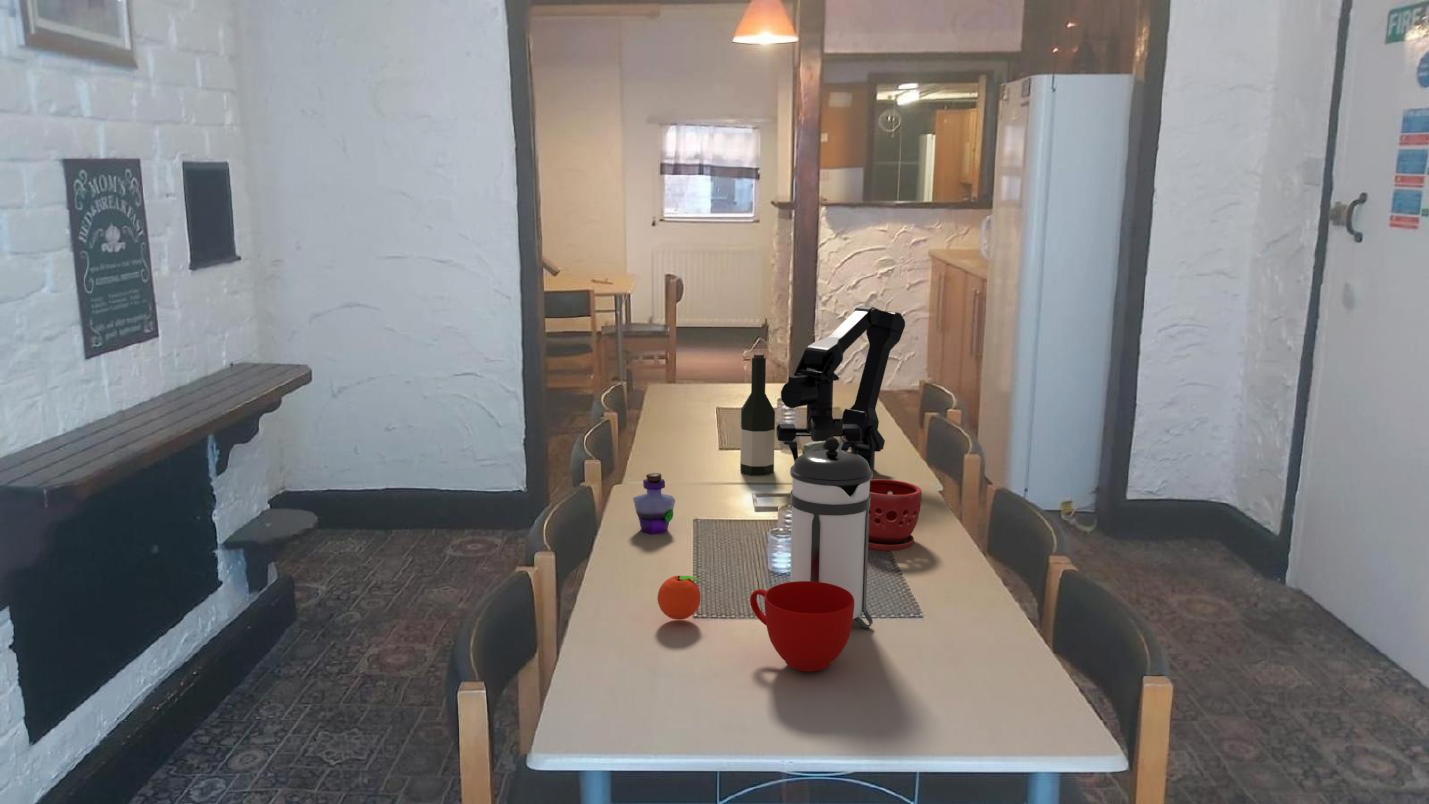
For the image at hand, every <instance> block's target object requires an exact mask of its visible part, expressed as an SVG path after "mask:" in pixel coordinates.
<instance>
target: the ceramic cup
mask: <svg viewBox="0 0 1429 804" xmlns="http://www.w3.org/2000/svg"><path fill="white" fill-rule="evenodd" d="M758 595H760V596H762V597H763V598H764V612H762V610H761V608H760V606H759V604H758V600H757V599H758ZM749 598H750V599H749V603H750V606H751V609H752V610H751V611H752V612H753V614H754V615H755V617H756V618H757V619H758V621H760V622H761V623H763V624H764V625H765V627H766V630H767V633H768V637H769V641H770V642H771V644H772V646H773V648H774V649H775V652H776V653H777V654H778V655H779V656H780V658H781V659H782V660H783V661H784V662H785V664H786V665H787V666H788V667H790V668H791V669H795V670H798V671H803V672H817V671H821V670H825V669H827V668H828V667H830V665H831V664H832V663H833V662H834V661H835V660H836V659H837V658H838V657H839V656H840V655H841V653H842V652H843V650H844V649H845V647H846V645H847V643H848V641H849V638H850V634H851V630H852V625H853V621H854V620H853V613H854V598H853V596H852V594H851V593H850V592H848V591H847V590H845V589H843V588H841V587H839V586H836V585H832V584H828V583H822V582H814V581H796V582H790V581H788V582H784V583H779V584H777V585H776V584H775V585H774V586H772V587H770V588H769V589H768V590H765V589H763V588H758V589H755V590H754V591H753V592H752V593H751V594H750V597H749Z"/></svg>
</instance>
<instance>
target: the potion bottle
mask: <svg viewBox="0 0 1429 804" xmlns="http://www.w3.org/2000/svg"><path fill="white" fill-rule="evenodd" d="M645 477H646V478H645V479H643V481H642V483H643V484H642V487H643V489H646V493H641V494H640V495H637V496H633V497H632V500H633V501H632V502H633V503H634V504H633V505H634V508H635V513H636V515H637V517H638V521H639V526H640V530H641V532H642V534H643V533H644V534H649V535H658V534H663V533H666V532H667V531H668V528H669V525H670V522H671V521H672V520H673V517H674V508H675V504H676V498H674V496H673V495H671V494H666V493H665V494H664V493H662V490H663V489H665V488H666V482H665V480H664V478H662V474H661V473H659V472H651V473H648V474H646V475H645Z"/></svg>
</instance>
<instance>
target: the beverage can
mask: <svg viewBox="0 0 1429 804" xmlns="http://www.w3.org/2000/svg"><path fill="white" fill-rule="evenodd" d="M825 442H826V441H818V442H815V441H813V440H811V441H808V442H805V443H804V444H803V448H802V450H801V451H802V452H801V453H802V454H804V453H807V452H810V451H814V450H824V449H826V447H825V445H824V444H825ZM802 454H801V455H802Z"/></svg>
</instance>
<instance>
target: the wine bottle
mask: <svg viewBox="0 0 1429 804" xmlns="http://www.w3.org/2000/svg"><path fill="white" fill-rule="evenodd" d="M766 366H767V358H766V357H765V354H764V353H762V352H761V353H759V352H758V353H753V357H751V388H750V390H751V392H750V393H749V396H748V397H747V399H746V401H745V402H744V404H742V407H741V408H740V474H742V475H747V476H751V477H756V476H757V477H758V476H759V477H760V476H761V477H764V476H769V475H771V474H774V473H775V435H776V431H775V429H776V427H775V425H776V419H775V418H776V411H775V409H774V408H773V405H772V403H771V402H770V400H769V398H768V396H767V394H766V378H767V377H766V373H767V372H766V371H767V370H766V368H767V367H766Z"/></svg>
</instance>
